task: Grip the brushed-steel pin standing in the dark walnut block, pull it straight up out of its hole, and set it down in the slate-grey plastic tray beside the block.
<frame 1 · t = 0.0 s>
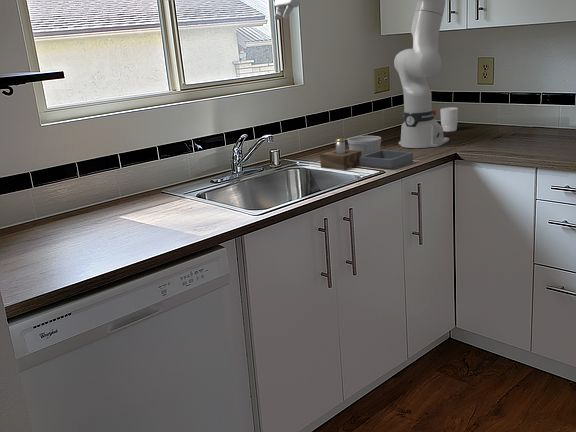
hand: (280, 18, 232), 54 cm above the worktop, tool tilted 30°, fingers open, 8 cm apart
walnut pin block: (341, 165, 237), on the worktop
steel pin: (340, 152, 236), in the walnut pin block
white cup: (449, 130, 292), on the worktop
ramekin: (365, 156, 252), on the worktop
slate tray: (386, 164, 234), on the worktop
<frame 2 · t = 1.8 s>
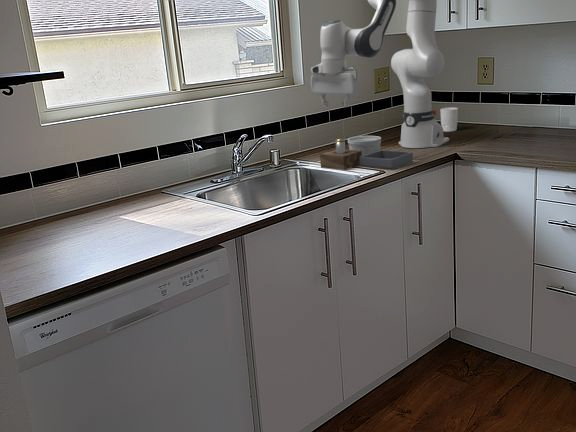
hand: (335, 106, 231), 22 cm above the worktop, tool pointing down, fingers open, 8 cm apart
nothing on the worktop moved.
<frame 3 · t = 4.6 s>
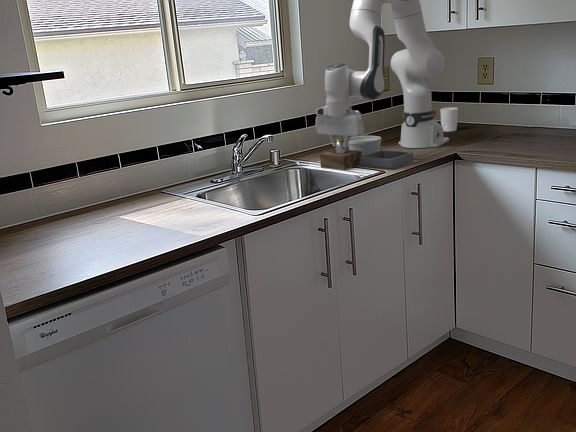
hand: (340, 147, 235), 7 cm above the worktop, tool pointing down, fingers closed on steel pin, 3 cm apart
steel pin: (340, 152, 236), in the walnut pin block, touching gripper
everything else where it was.
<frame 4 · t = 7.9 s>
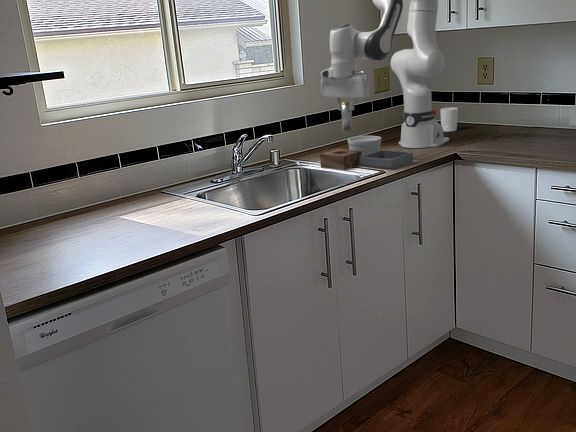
hand: (346, 110, 231), 21 cm above the worktop, tool pointing down, fingers closed on steel pin, 3 cm apart
steel pin: (346, 115, 232), point 18 cm above the worktop, touching gripper
everything else where it was.
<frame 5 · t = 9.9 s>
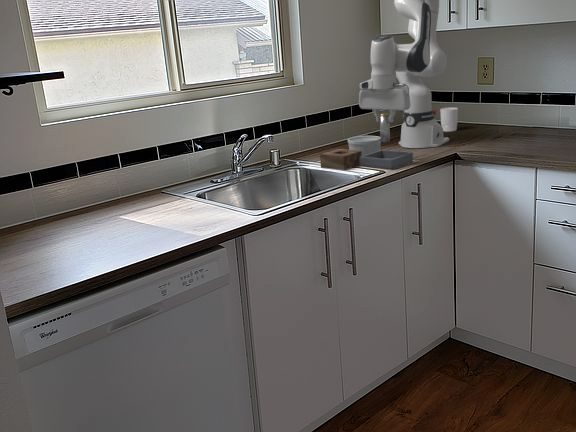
hand: (384, 122, 229), 16 cm above the worktop, tool pointing down, fingers closed on steel pin, 3 cm apart
steel pin: (384, 127, 230), point 14 cm above the worktop, touching gripper
everything else where it was.
when the fingers open (9 cm above the worktop, at t = 11.7 s): steel pin drops 1 cm, resting on slate tray.
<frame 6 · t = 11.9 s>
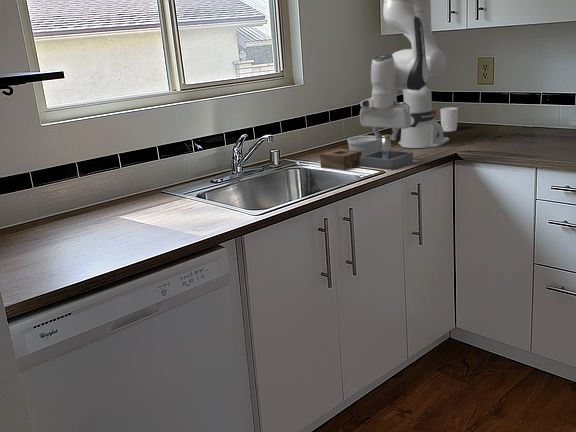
hand: (385, 139, 231), 9 cm above the worktop, tool pointing down, fingers open, 5 cm apart
steel pin: (386, 148, 232), in the slate tray, point 6 cm above the worktop
everything else where it was.
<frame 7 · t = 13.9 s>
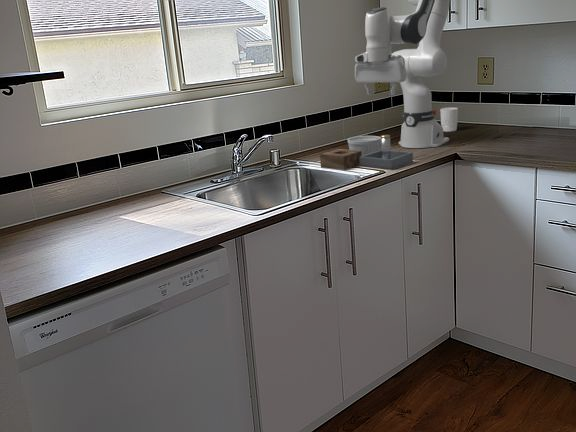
hand: (381, 95, 229), 25 cm above the worktop, tool pointing down, fingers open, 8 cm apart
nothing on the worktop moved.
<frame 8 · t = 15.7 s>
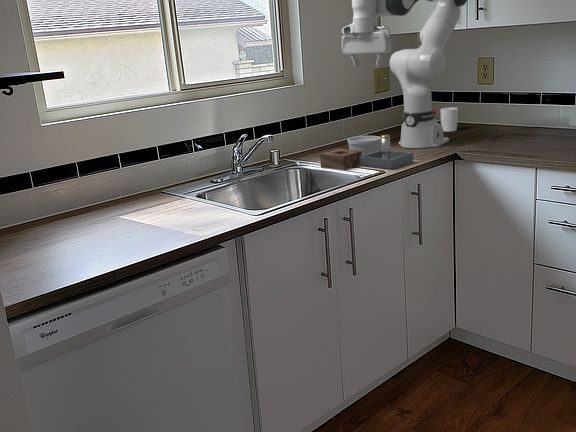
hand: (366, 66, 233), 35 cm above the worktop, tool pointing down, fingers open, 8 cm apart
nothing on the worktop moved.
at the end: steel pin inside the target area on the slate tray (0.0 cm from its centre), point 5.6 cm above the slate tray's base; the gripper is holding nothing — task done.
